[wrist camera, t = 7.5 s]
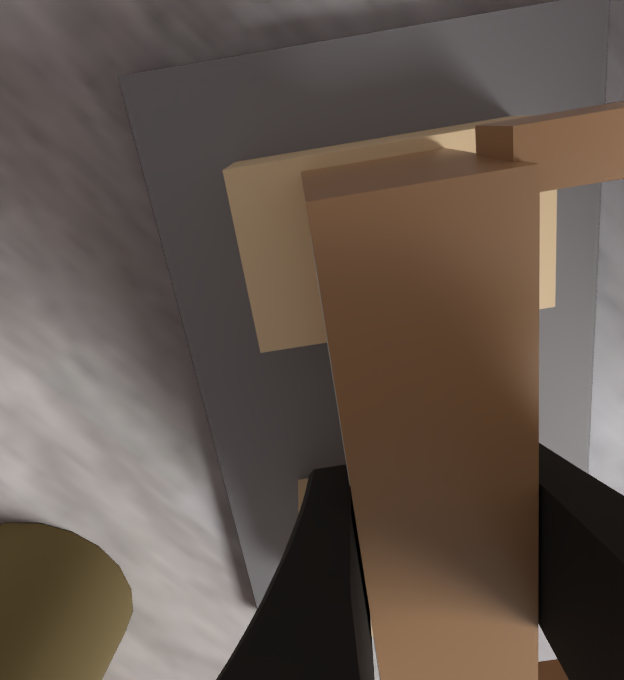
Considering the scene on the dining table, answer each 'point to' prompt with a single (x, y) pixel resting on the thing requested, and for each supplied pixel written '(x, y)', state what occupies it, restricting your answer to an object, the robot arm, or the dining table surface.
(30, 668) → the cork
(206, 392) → the gray tray with blocks
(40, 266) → the dining table surface
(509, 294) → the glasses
